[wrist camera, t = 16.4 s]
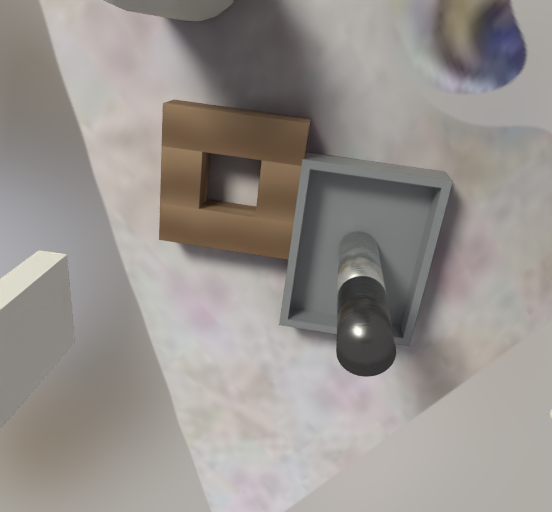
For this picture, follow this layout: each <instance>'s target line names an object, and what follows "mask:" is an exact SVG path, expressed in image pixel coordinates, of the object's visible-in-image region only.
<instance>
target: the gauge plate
mask: <svg viewBox="0 0 552 512" xmlns="http://www.w3.org/2000/svg"><path fill="white" fill-rule="evenodd" d="M310 122H311V119H310V118H303V117H295V116H288V115H281V114H274V113H266V112H259V111H252V110H245V109H237V108H230V107H223V106H216V105H208V104H201V103H194V102H187V101H180V100H172V101H169V102H166V103H163V122H162V158H161V193H160V229H159V240H165V241H171V242H177V243H184V244H190V245H197V246H203V247H210V248H216V249H223V250H229V251H235V252H242V253H248V254H255V255H261V256H268V257H274V258H280V259H287V260H288V259H289V252H290V245H291V238H292V231H293V224H294V217H295V209H296V202H297V195H298V188H299V181H300V174H301V167H302V160H303V159H304V158H305V155H306V150H307V143H308V136H309V129H310ZM210 153H214V154H221V155H228V156H235V157H242V158H249V159H256V160H262V161H261V171H260V180H259V189H258V198H257V207H254V206H248V205H241V204H234V203H228V202H221V201H214V200H208V199H207V193H208V178H209V163H210Z"/></svg>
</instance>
